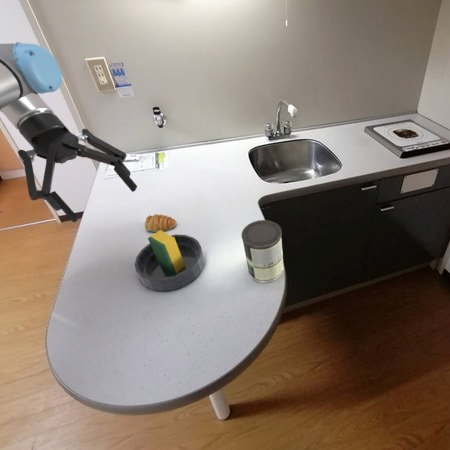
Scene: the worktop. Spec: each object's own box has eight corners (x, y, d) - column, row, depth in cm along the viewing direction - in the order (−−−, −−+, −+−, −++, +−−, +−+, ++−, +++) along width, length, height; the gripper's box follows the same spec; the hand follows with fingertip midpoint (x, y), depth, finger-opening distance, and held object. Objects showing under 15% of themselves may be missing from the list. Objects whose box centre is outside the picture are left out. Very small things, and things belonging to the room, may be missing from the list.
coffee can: (240, 274, 86) (233, 237, 77) (262, 251, 93) (257, 215, 84) (270, 288, 82) (266, 251, 73) (290, 264, 89) (289, 227, 80)
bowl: (176, 300, 80) (171, 288, 76) (127, 280, 85) (120, 268, 82) (216, 256, 92) (213, 244, 89) (171, 240, 97) (166, 228, 94)
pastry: (179, 219, 105) (176, 211, 103) (173, 233, 100) (170, 224, 98) (152, 220, 105) (148, 211, 103) (144, 233, 100) (140, 224, 98)
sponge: (173, 274, 86) (162, 246, 79) (160, 266, 88) (147, 238, 81) (185, 265, 88) (174, 237, 81) (171, 257, 91) (160, 229, 84)
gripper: (94, 114, 75) (152, 184, 78) (-33, 154, 59) (46, 240, 62) (96, 95, 69) (159, 172, 72) (-43, 133, 53) (44, 229, 56)
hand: (107, 203), depth 67 cm, fingers open, 13 cm apart
